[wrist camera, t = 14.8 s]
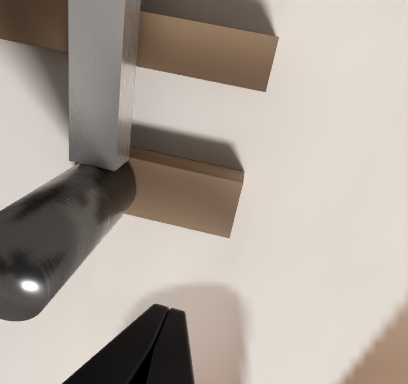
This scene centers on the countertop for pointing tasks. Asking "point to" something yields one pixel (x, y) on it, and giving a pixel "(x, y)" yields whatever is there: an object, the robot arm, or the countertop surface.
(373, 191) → the countertop surface
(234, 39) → the press base
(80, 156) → the bar
